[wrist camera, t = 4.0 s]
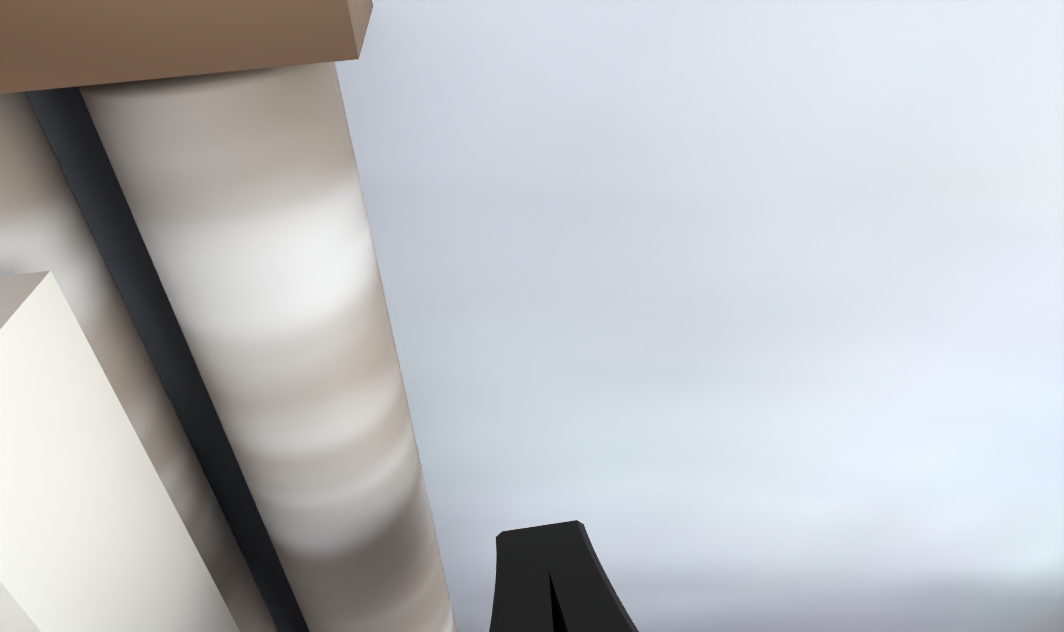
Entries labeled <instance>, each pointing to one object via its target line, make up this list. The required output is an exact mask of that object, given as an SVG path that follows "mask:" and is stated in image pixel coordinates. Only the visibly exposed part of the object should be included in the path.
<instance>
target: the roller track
mask: <svg viewBox="0 0 1064 632" xmlns="http://www.w3.org/2000/svg"><path fill="white" fill-rule="evenodd" d="M372 8H373V4H372V0H0V276H8V275H17V274H25V273H34V272H42V271H51V272H52V274H53V276H54V278H55V280H56V282H57V284H58V285H59V287H60V289H61V291H62V293H63V295H64V297H65V299H66V301H67V303H68V305H69V306H70V308H71V310H72V312H73V314H74V316H75V318H76V320H77V322H78V324H79V325H80V327H81V329H82V331H83V333H84V335H85V337H86V339H87V341H88V343H89V345H90V346H91V348H92V350H93V352H94V354H95V356H96V358H97V360H98V362H99V364H100V365H101V367H102V369H103V371H104V373H105V375H106V377H107V379H108V381H109V383H110V385H111V386H112V388H113V390H114V392H115V394H116V396H117V398H118V400H119V402H120V404H121V406H122V407H123V409H124V411H125V413H126V415H127V417H128V419H129V421H130V423H131V425H132V426H133V428H134V430H135V432H136V434H137V436H138V438H139V440H140V442H141V444H142V446H143V447H144V449H145V451H146V453H147V455H148V457H149V459H150V461H151V463H152V465H153V467H154V468H155V470H156V472H157V474H158V476H159V478H160V480H161V482H162V484H163V486H164V487H165V489H166V491H167V493H168V495H169V497H170V499H171V501H172V503H173V505H174V507H175V508H176V510H177V512H178V514H179V516H180V518H181V520H182V522H183V524H184V526H185V527H186V529H187V531H188V533H189V535H190V537H191V539H192V541H193V543H194V545H195V547H196V548H197V550H198V552H199V554H200V556H201V558H202V560H203V562H204V564H205V566H206V568H207V569H208V571H209V573H210V575H211V577H212V579H213V581H214V583H215V585H216V587H217V588H218V590H219V592H220V594H221V596H222V598H223V600H224V602H225V604H226V606H227V608H228V609H229V611H230V613H231V615H232V617H233V619H234V621H235V623H236V625H237V627H238V628H239V630H240V632H279V631H278V629H277V627H276V624H275V622H274V620H273V618H272V616H271V614H270V612H269V609H268V607H267V605H266V603H265V601H264V599H263V597H262V595H261V592H260V590H259V588H258V586H257V584H256V582H255V580H254V577H253V575H252V573H251V571H250V569H249V567H248V565H247V563H246V560H245V558H244V556H243V554H242V552H241V550H240V548H239V546H238V543H237V541H236V539H235V537H234V535H233V533H232V531H231V528H230V526H229V524H228V522H227V520H226V518H225V516H224V514H223V511H222V509H221V507H220V505H219V503H218V501H217V499H216V497H215V494H214V492H213V490H212V488H211V486H210V484H209V482H208V479H207V477H206V475H205V473H204V471H203V469H202V467H201V465H200V462H199V460H198V458H197V456H196V454H195V452H194V450H193V448H192V445H191V443H190V441H189V439H188V437H187V435H186V433H185V430H184V428H183V426H182V424H181V422H180V420H179V418H178V416H177V413H176V411H175V409H174V407H173V405H172V403H171V401H170V398H169V396H168V394H167V392H166V390H165V388H164V386H163V384H162V381H161V379H160V377H159V375H158V373H157V371H156V369H155V367H154V364H153V362H152V360H151V358H150V356H149V354H148V352H147V349H146V347H145V345H144V343H143V341H142V339H141V337H140V335H139V332H138V330H137V328H136V326H135V324H134V322H133V320H132V318H131V315H130V313H129V311H128V309H127V307H126V305H125V303H124V300H123V298H122V296H121V294H120V292H119V290H118V288H117V286H116V283H115V281H114V279H113V277H112V275H111V273H110V271H109V269H108V266H107V264H106V262H105V260H104V258H103V256H102V254H101V251H100V249H99V247H98V245H97V243H96V241H95V239H94V237H93V234H92V232H91V230H90V228H89V226H88V224H87V222H86V219H85V217H84V215H83V213H82V211H81V209H80V207H79V205H78V202H77V200H76V198H75V196H74V194H73V192H72V190H71V188H70V185H69V183H68V181H67V179H66V177H65V175H64V173H63V170H62V168H61V166H60V164H59V162H58V160H57V158H56V156H55V153H54V151H53V149H52V147H51V145H50V143H49V141H48V139H47V136H46V134H45V132H44V130H43V128H42V126H41V124H40V121H39V119H38V117H37V115H36V113H35V111H34V109H33V107H32V104H31V102H30V100H29V98H28V96H27V94H26V92H25V91H35V90H45V89H56V88H66V87H76V86H78V88H79V90H80V92H81V95H82V97H83V99H84V102H85V104H86V106H87V109H88V111H89V114H90V116H91V118H92V121H93V123H94V125H95V128H96V130H97V132H98V135H99V137H100V139H101V142H102V144H103V146H104V149H105V151H106V154H107V156H108V158H109V161H110V163H111V165H112V168H113V170H114V172H115V175H116V177H117V179H118V182H119V184H120V186H121V189H122V191H123V193H124V196H125V198H126V201H127V203H128V205H129V208H130V210H131V212H132V215H133V217H134V219H135V222H136V224H137V226H138V229H139V231H140V233H141V236H142V238H143V241H144V243H145V245H146V248H147V250H148V252H149V255H150V257H151V259H152V262H153V264H154V266H155V269H156V271H157V273H158V276H159V278H160V281H161V283H162V285H163V288H164V290H165V292H166V295H167V297H168V299H169V302H170V304H171V306H172V309H173V311H174V313H175V316H176V318H177V321H178V323H179V325H180V328H181V330H182V332H183V335H184V337H185V339H186V342H187V344H188V346H189V349H190V351H191V353H192V356H193V358H194V360H195V363H196V365H197V368H198V370H199V372H200V375H201V377H202V379H203V382H204V384H205V386H206V389H207V391H208V393H209V396H210V398H211V400H212V403H213V405H214V408H215V410H216V412H217V415H218V417H219V419H220V422H221V424H222V426H223V429H224V431H225V433H226V436H227V438H228V440H229V443H230V445H231V448H232V450H233V452H234V455H235V457H236V459H237V462H238V464H239V466H240V469H241V471H242V473H243V476H244V478H245V480H246V483H247V485H248V488H249V490H250V492H251V495H252V497H253V499H254V502H255V504H256V506H257V509H258V511H259V513H260V516H261V518H262V520H263V523H264V525H265V527H266V530H267V532H268V535H269V537H270V539H271V542H272V544H273V546H274V549H275V551H276V553H277V556H278V558H279V560H280V563H281V565H282V567H283V570H284V572H285V575H286V577H287V579H288V582H289V584H290V586H291V589H292V591H293V593H294V596H295V598H296V600H297V603H298V605H299V607H300V610H301V612H302V615H303V617H304V619H305V622H306V624H307V626H308V629H309V631H310V632H457V630H456V626H455V621H454V616H453V612H452V607H451V602H450V598H449V593H448V588H447V584H446V579H445V574H444V570H443V565H442V561H441V556H440V551H439V547H438V542H437V537H436V533H435V528H434V523H433V519H432V514H431V509H430V505H429V500H428V495H427V491H426V486H425V481H424V477H423V472H422V467H421V463H420V458H419V453H418V449H417V444H416V440H415V435H414V430H413V426H412V421H411V416H410V412H409V407H408V402H407V398H406V393H405V388H404V384H403V379H402V374H401V370H400V365H399V360H398V356H397V351H396V346H395V342H394V337H393V332H392V328H391V323H390V319H389V314H388V309H387V305H386V300H385V295H384V291H383V286H382V281H381V277H380V272H379V267H378V263H377V258H376V253H375V249H374V244H373V239H372V235H371V230H370V225H369V221H368V216H367V212H366V207H365V202H364V198H363V193H362V188H361V184H360V179H359V174H358V170H357V165H356V160H355V156H354V151H353V146H352V142H351V137H350V132H349V128H348V123H347V118H346V114H345V109H344V104H343V100H342V95H341V91H340V86H339V81H338V77H337V72H336V67H335V63H334V61H344V60H354V59H359V56H360V52H361V48H362V45H363V41H364V37H365V33H366V30H367V26H368V22H369V19H370V15H371V11H372Z"/></svg>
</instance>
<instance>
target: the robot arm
mask: <svg viewBox="0 0 1064 632" xmlns="http://www.w3.org/2000/svg"><path fill="white" fill-rule="evenodd" d="M496 549H497V562H496V582H495V593H494V602H493V610H492V618H491V624H490V630H489V632H639V631H638V630H637V628H636V626H635V625H634V623H633V621H632V620H631V618H630V617H629V615H628V613H627V612H626V610H625V608H624V606H623V605H622V603H621V601H620V599H619V598H618V596H617V594H616V592H615V590H614V588H613V587H612V585H611V583H610V581H609V579H608V577H607V575H606V573H605V571H604V569H603V568H602V566H601V564H600V562H599V559H598V557H597V555H596V553H595V551H594V549H593V546H592V544H591V542H590V540H589V537H588V535H587V532H586V530H585V527H584V524H582V523H581V522H579V521H577V520H576V521H569V522H562V523H556V524H549V525H542V526H536V527H529V528H522V529H516V530H509V531H502V532H501V533H500V534H499V535H498V536H497V537H496Z"/></svg>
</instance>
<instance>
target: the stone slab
mask: <svg viewBox="0 0 1064 632" xmlns="http://www.w3.org/2000/svg"><path fill="white" fill-rule="evenodd" d="M0 632H240V630H239V628H238V627H237V625H236V623H235V621H234V619H233V617H232V615H231V613H230V611H229V609H228V608H227V606H226V604H225V602H224V600H223V598H222V596H221V594H220V592H219V590H218V588H217V587H216V585H215V583H214V581H213V579H212V577H211V575H210V573H209V571H208V569H207V568H206V566H205V564H204V562H203V560H202V558H201V556H200V554H199V552H198V550H197V548H196V547H195V545H194V543H193V541H192V539H191V537H190V535H189V533H188V531H187V529H186V527H185V526H184V524H183V522H182V520H181V518H180V516H179V514H178V512H177V510H176V508H175V507H174V505H173V503H172V501H171V499H170V497H169V495H168V493H167V491H166V489H165V487H164V486H163V484H162V482H161V480H160V478H159V476H158V474H157V472H156V470H155V468H154V467H153V465H152V463H151V461H150V459H149V457H148V455H147V453H146V451H145V449H144V447H143V446H142V444H141V442H140V440H139V438H138V436H137V434H136V432H135V430H134V428H133V426H132V425H131V423H130V421H129V419H128V417H127V415H126V413H125V411H124V409H123V407H122V406H121V404H120V402H119V400H118V398H117V396H116V394H115V392H114V390H113V388H112V386H111V385H110V383H109V381H108V379H107V377H106V375H105V373H104V371H103V369H102V367H101V365H100V364H99V362H98V360H97V358H96V356H95V354H94V352H93V350H92V348H91V346H90V345H89V343H88V341H87V339H86V337H85V335H84V333H83V331H82V329H81V327H80V325H79V324H78V322H77V320H76V318H75V316H74V314H73V312H72V310H71V308H70V306H69V305H68V303H67V301H66V299H65V297H64V295H63V293H62V291H61V289H60V287H59V285H58V284H57V282H56V280H55V278H54V276H53V274H52V272H51V271H42V272H34V273H25V274H17V275H8V276H0Z"/></svg>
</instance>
